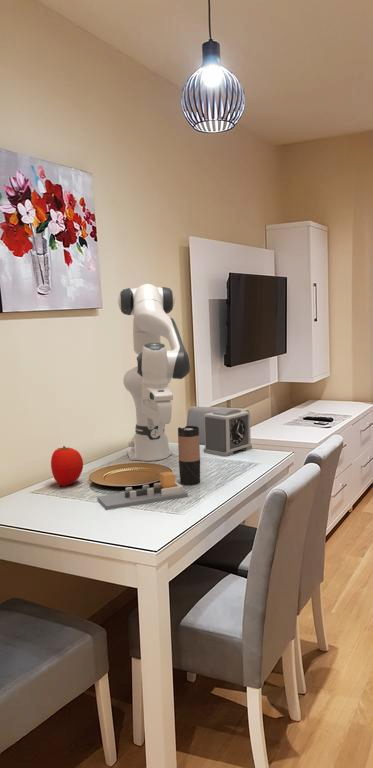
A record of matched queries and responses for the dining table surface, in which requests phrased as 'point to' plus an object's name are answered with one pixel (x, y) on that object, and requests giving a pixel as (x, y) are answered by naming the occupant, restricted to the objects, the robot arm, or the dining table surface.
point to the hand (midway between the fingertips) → (155, 432)
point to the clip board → (121, 501)
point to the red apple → (66, 465)
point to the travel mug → (189, 455)
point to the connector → (165, 482)
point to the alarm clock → (227, 431)
